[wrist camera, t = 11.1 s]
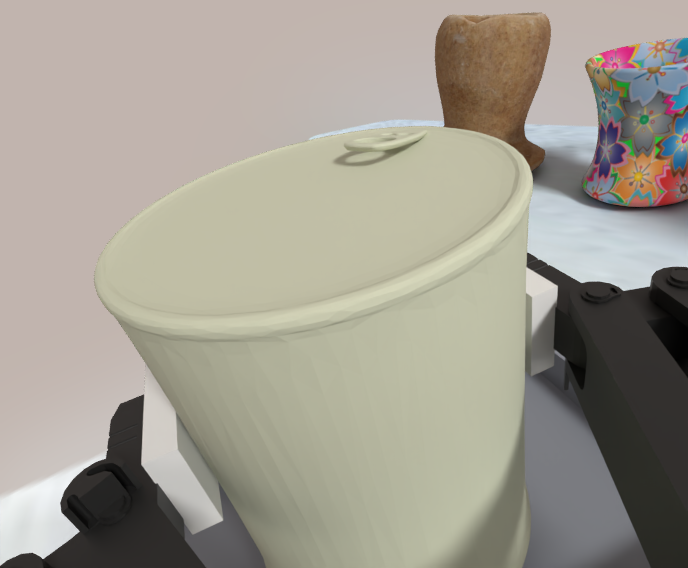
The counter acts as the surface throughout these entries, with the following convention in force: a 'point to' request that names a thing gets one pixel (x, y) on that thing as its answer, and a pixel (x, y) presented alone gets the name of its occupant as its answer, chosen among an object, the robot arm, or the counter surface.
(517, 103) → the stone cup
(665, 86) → the mug
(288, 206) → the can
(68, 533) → the counter surface
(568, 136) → the counter surface
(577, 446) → the tray
